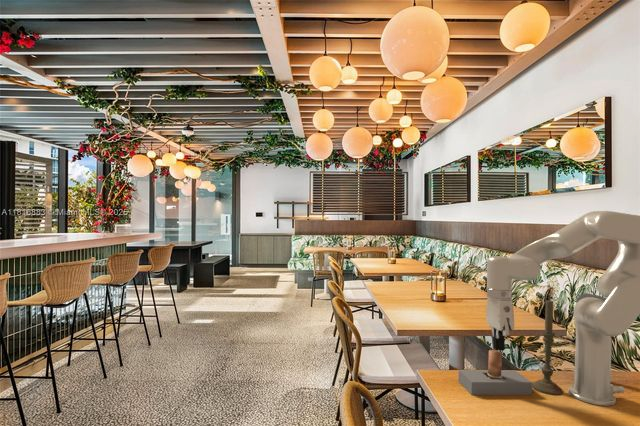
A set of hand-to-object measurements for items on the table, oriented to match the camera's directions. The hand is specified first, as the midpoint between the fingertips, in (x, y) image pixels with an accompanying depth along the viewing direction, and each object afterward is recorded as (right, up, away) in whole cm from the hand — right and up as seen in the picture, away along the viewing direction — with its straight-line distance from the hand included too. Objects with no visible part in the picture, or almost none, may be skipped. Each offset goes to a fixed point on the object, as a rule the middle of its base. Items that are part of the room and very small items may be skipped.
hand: (498, 349), depth 133 cm
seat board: (-1, -13, +1) cm, 13 cm away
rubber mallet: (+39, -15, +11) cm, 43 cm away
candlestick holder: (+17, -14, +1) cm, 22 cm away
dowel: (-1, -13, +1) cm, 13 cm away
